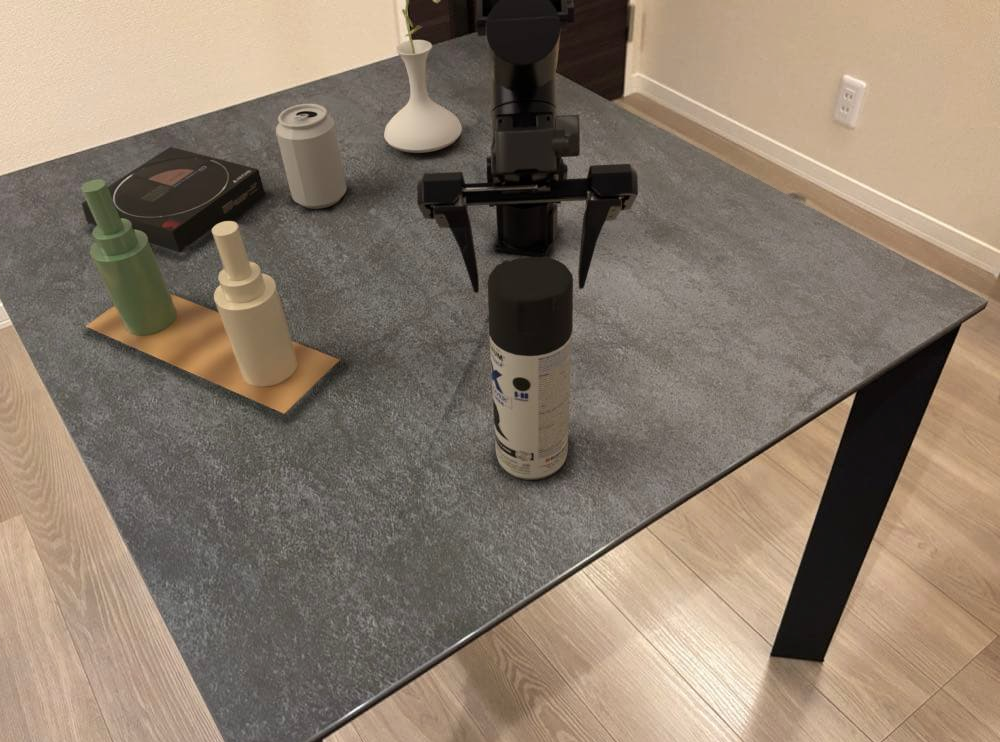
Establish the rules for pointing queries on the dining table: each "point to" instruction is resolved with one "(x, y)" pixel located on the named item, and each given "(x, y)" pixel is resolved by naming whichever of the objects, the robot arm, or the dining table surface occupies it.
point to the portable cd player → (183, 196)
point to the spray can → (531, 363)
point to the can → (311, 155)
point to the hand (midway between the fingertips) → (528, 290)
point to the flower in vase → (420, 105)
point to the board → (216, 353)
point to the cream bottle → (251, 313)
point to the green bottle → (128, 266)
